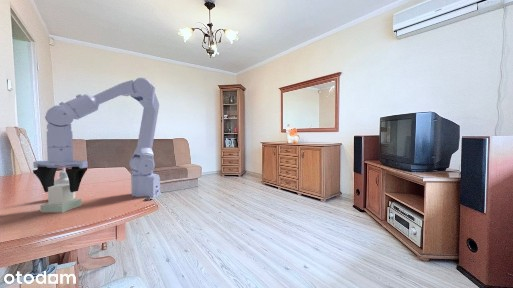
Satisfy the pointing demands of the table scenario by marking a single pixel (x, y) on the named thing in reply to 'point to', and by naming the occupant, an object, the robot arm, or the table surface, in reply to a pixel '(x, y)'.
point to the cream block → (60, 194)
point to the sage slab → (60, 206)
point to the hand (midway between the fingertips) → (61, 191)
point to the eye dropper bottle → (62, 179)
